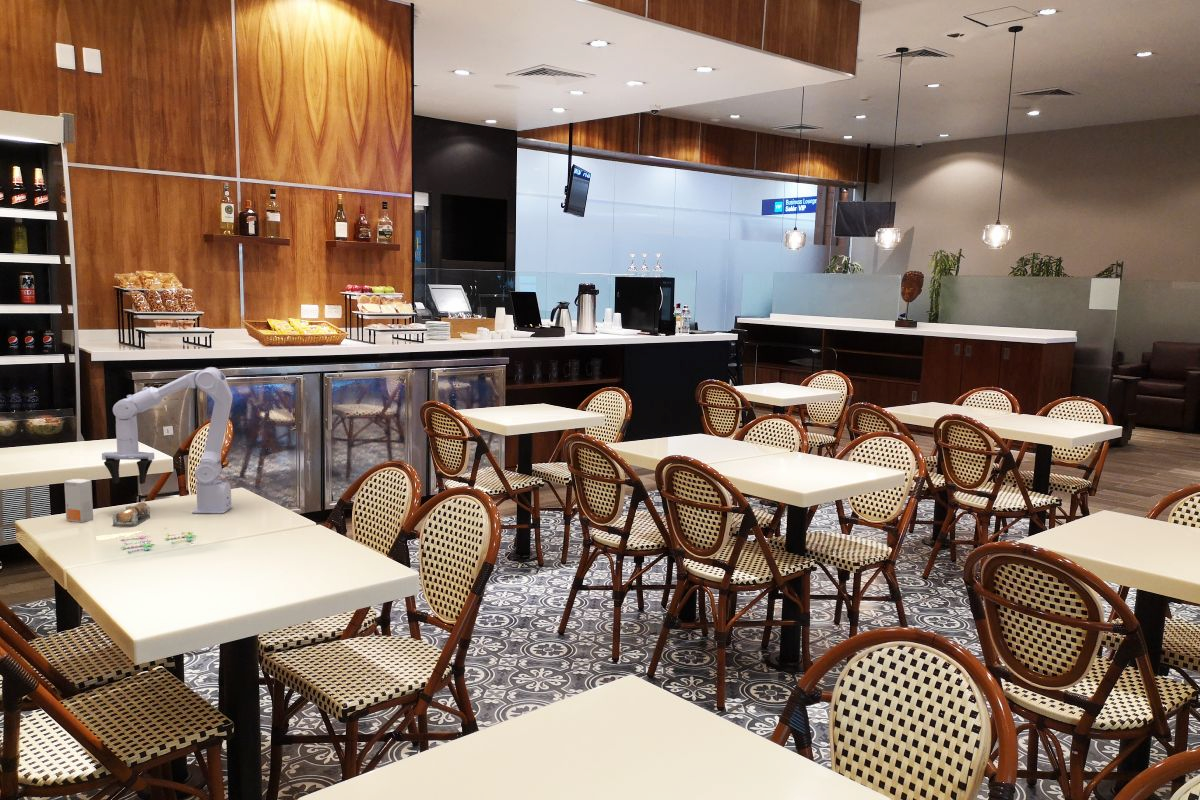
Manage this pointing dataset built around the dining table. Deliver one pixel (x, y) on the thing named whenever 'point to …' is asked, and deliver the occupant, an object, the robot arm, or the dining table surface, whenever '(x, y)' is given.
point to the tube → (126, 514)
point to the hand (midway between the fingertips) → (129, 483)
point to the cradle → (132, 518)
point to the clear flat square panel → (140, 538)
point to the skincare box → (78, 500)
